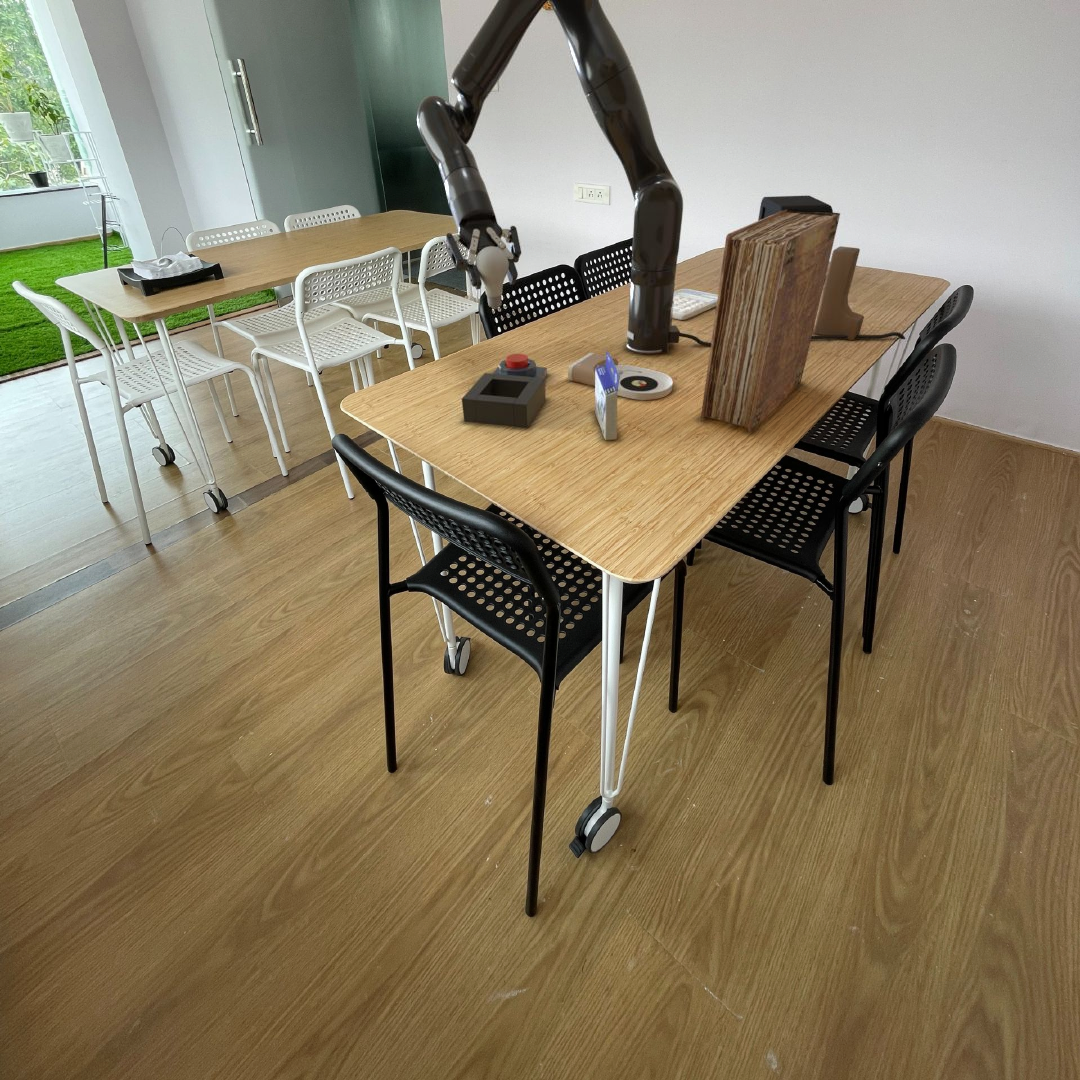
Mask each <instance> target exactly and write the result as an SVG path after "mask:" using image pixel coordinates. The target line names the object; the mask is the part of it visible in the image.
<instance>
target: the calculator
mask: <svg viewBox="0 0 1080 1080" xmlns="http://www.w3.org/2000/svg"><path fill="white" fill-rule="evenodd" d="M717 299H718V294H715V293H710V292H705V291H700V290H694V289H690V288H682V289H678V290H676V291H674V296H673V302H674V306H673V316H672V319H675V320H680V321H685V320H688V319H690V318H693V317H695V316H698V315H700V314H702V313H705V312H707V311H709V310H710V309H711V310H712V309H713V308H716V306H717Z"/></svg>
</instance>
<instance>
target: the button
mask: <svg viewBox="0 0 1080 1080" xmlns="http://www.w3.org/2000/svg"><path fill="white" fill-rule="evenodd" d="M528 359H529V356H528V355H526V354H523V353H512V354H509V355H507V356H506V357H505V360H506V365H507V367H508V368H510V369H522V368H526V367H528Z"/></svg>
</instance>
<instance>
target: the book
mask: <svg viewBox="0 0 1080 1080" xmlns="http://www.w3.org/2000/svg"><path fill="white" fill-rule="evenodd" d="M840 216H841V213H840V212H833V213H832V212H819V211H807V210H794V209H785V210H783V211H780V212H778V213H776V214H773V215H771V216H768V217H766V218H764V219H761V220H759V221H758V220H757V221H755V222H752V223H750V224H748V225H745V226H743V227H740V228H738V229H735V230H733V231H732V232H729V233H727V234H726V237H725V243H724V250H723V256H722V257H723V258H722V264H721V272H720V278H719V284H718V293H717V295H718V299H717V306H716V307H715V314H714V321H713V328H712V336H711V342H710V343H711V346H710V350H709V355H708V363H707V371H706V379H705V384H704V392H703V399H702V405H701V412H700V420H702V421H704V420H705V419H706V418H708V419H713V420H716V421H719V422H720V421H721V422H724V423H728V424H732V425H736V426H740V427H743V428H747V429H748V430H747V431H748V432H750V433H752V432H753V431H755V429H756V428H757V427H758V426H759V425H760V424H761V423H762V422H763V421H764V420H765V419H766V418H767V417H768V416H770V414H771V413H772V412H773V411H775V410H776V408H778V406H779V405H780V404H782V403H783V401H785V400H786V398H788V397H789V396H790V395H791V394H792V392H793V391H794V390H795V389H797V388H798V387H799V386H800V385H801V383H802V380H803V375H804V371H805V367H806V361H807V358H808V353H809V348H810V345H811V340H812V339H811V337H812V336H813V333H814V329H815V325H816V321H817V316H818V312H819V308H820V304H821V299H822V295H823V291H824V286H825V282H826V278H827V274H828V269H829V265H830V261H831V257H832V252H833V247H834V242H835V237H836V234H837V230H838V225H839V222H840V221H839V220H840Z"/></svg>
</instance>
